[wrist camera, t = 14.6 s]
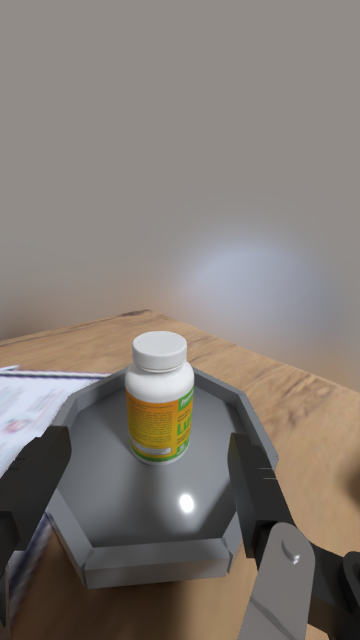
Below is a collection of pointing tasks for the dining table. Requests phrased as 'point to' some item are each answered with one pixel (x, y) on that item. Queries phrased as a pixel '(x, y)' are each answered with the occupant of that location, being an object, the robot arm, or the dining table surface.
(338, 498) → the dining table surface
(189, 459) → the dish
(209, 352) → the dining table surface
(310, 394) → the dining table surface
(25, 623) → the dining table surface
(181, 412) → the supplement bottle
